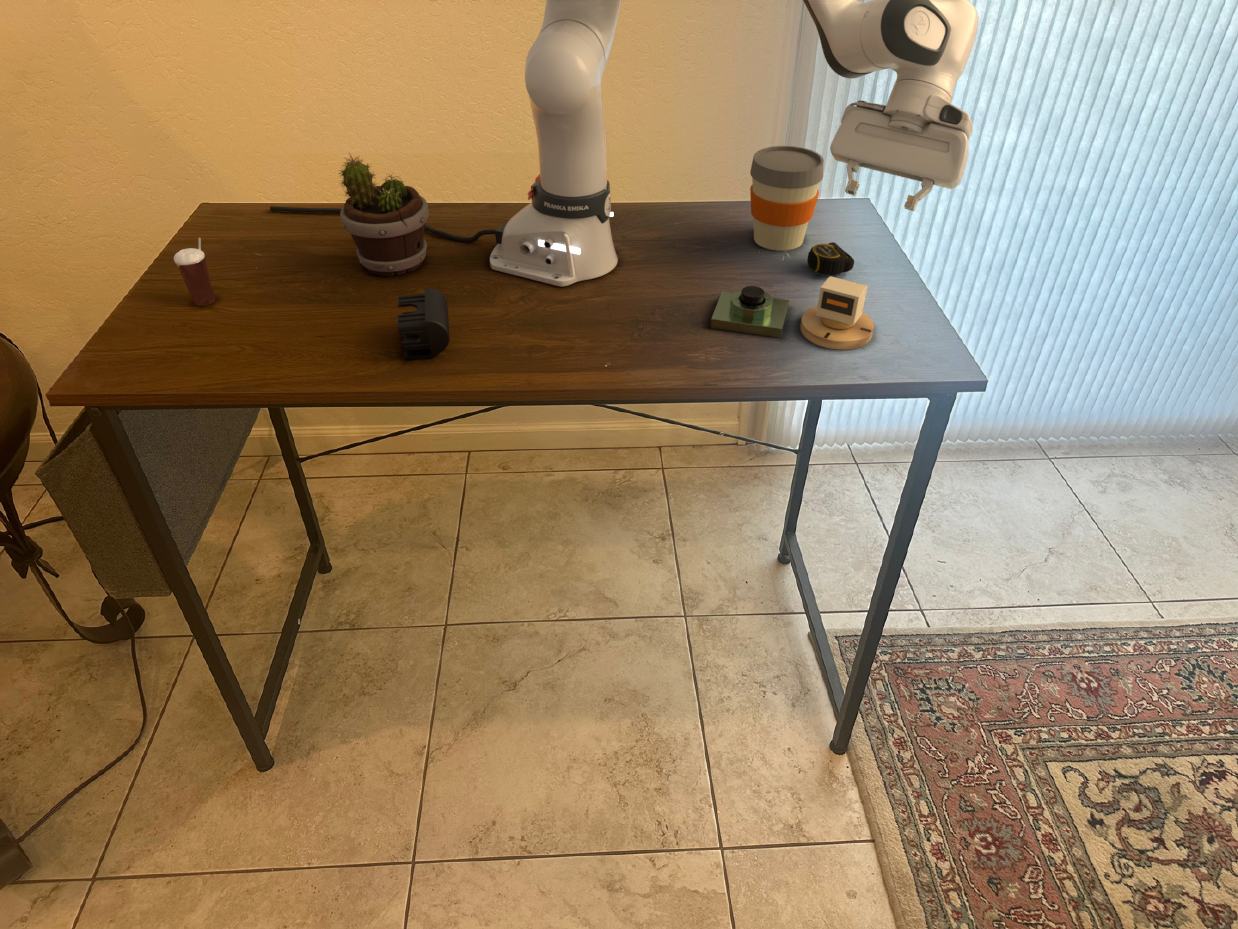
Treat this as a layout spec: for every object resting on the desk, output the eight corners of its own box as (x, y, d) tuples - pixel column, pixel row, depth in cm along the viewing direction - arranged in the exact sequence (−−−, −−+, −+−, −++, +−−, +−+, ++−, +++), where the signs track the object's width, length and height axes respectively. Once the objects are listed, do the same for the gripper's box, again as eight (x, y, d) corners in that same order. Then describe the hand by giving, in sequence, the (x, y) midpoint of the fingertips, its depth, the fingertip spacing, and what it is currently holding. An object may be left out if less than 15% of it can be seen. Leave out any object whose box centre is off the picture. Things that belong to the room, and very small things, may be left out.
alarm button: (738, 305, 134) (739, 295, 133) (742, 294, 136) (743, 284, 135) (761, 308, 133) (762, 298, 132) (765, 297, 136) (766, 287, 134)
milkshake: (229, 295, 143) (210, 240, 137) (205, 310, 140) (184, 254, 133) (209, 290, 145) (189, 234, 138) (184, 305, 141) (163, 248, 135)
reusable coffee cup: (775, 261, 151) (785, 178, 141) (730, 235, 159) (736, 154, 149) (827, 243, 156) (840, 162, 147) (781, 218, 164) (791, 140, 155)
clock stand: (858, 357, 128) (860, 348, 127) (789, 337, 132) (790, 328, 131) (881, 323, 135) (883, 314, 134) (815, 305, 140) (816, 297, 139)
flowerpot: (441, 242, 158) (424, 132, 145) (429, 283, 146) (410, 167, 133) (361, 244, 157) (337, 134, 144) (344, 285, 146) (316, 169, 133)
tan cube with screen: (851, 333, 130) (858, 298, 126) (813, 322, 132) (819, 288, 128) (862, 318, 133) (868, 284, 129) (825, 308, 135) (830, 274, 132)
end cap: (452, 357, 129) (446, 318, 124) (404, 362, 128) (396, 323, 123) (450, 323, 136) (444, 285, 132) (405, 327, 135) (397, 289, 131)
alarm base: (710, 328, 135) (711, 308, 132) (721, 300, 141) (722, 281, 139) (780, 338, 132) (783, 318, 130) (788, 309, 139) (791, 289, 137)
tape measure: (853, 276, 147) (857, 256, 145) (817, 282, 145) (821, 262, 143) (834, 258, 152) (837, 238, 150) (799, 264, 150) (802, 244, 148)
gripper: (846, 89, 131) (811, 177, 133) (981, 118, 123) (942, 212, 125) (852, 105, 136) (819, 190, 138) (982, 134, 128) (945, 224, 130)
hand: (879, 201), depth 131 cm, fingers open, 8 cm apart
